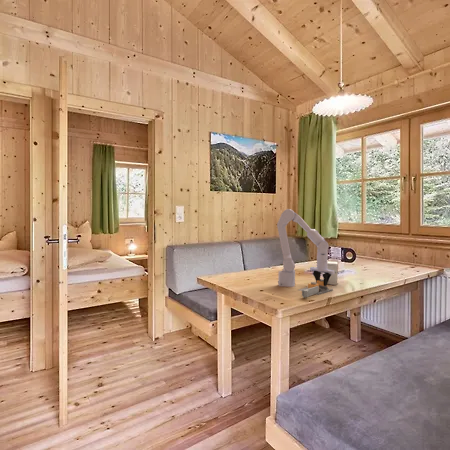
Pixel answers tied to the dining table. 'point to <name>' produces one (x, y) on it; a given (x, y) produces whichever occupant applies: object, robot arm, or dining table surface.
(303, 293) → the cover bar
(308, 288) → the block
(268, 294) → the dining table surface
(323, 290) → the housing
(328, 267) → the supplement box
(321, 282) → the orange knob block
